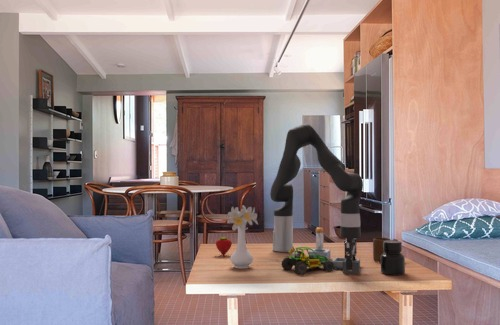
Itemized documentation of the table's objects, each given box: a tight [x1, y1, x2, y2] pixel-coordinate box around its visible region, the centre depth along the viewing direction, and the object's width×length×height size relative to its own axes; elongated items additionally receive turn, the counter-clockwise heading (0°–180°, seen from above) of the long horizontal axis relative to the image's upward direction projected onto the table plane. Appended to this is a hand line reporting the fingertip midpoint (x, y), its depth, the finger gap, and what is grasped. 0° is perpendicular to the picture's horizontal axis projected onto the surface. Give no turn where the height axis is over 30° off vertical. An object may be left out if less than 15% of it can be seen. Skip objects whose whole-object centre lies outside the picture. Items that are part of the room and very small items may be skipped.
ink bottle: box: [380, 239, 406, 276], centre depth 176 cm, size 10×9×12 cm
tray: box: [331, 256, 361, 270], centre depth 187 cm, size 10×9×3 cm
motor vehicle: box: [280, 246, 333, 275], centre depth 183 cm, size 12×19×11 cm, turn 118°
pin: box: [315, 227, 324, 252], centre depth 204 cm, size 3×3×14 cm
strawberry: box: [215, 235, 233, 256], centre depth 217 cm, size 6×8×10 cm
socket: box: [308, 248, 331, 260], centre depth 204 cm, size 8×8×4 cm
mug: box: [372, 237, 399, 263], centre depth 202 cm, size 12×8×9 cm, turn 100°
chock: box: [342, 260, 361, 275], centre depth 177 cm, size 4×6×4 cm
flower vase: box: [226, 204, 259, 270], centre depth 188 cm, size 13×18×25 cm
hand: (350, 267), depth 177 cm, fingers open, 8 cm apart
